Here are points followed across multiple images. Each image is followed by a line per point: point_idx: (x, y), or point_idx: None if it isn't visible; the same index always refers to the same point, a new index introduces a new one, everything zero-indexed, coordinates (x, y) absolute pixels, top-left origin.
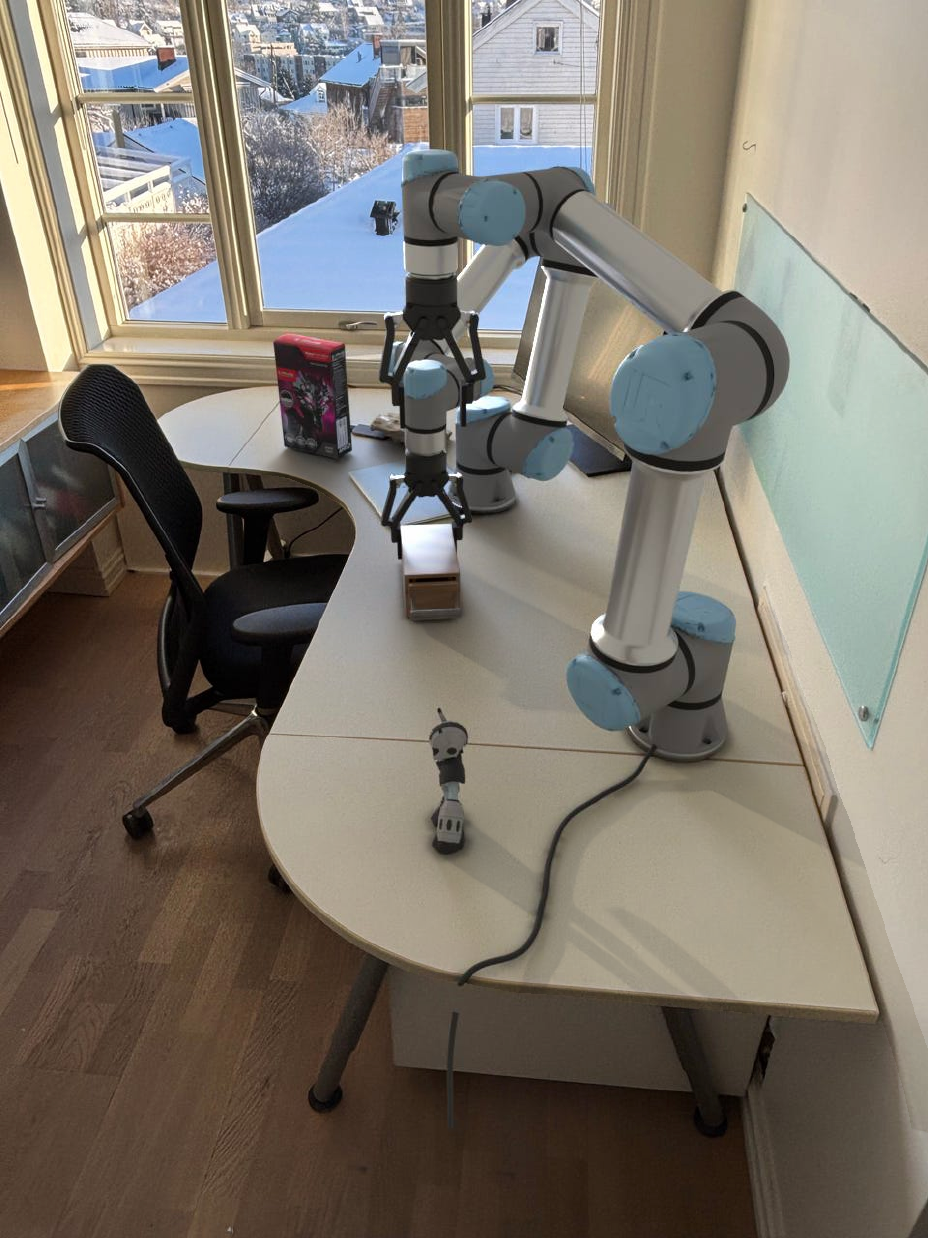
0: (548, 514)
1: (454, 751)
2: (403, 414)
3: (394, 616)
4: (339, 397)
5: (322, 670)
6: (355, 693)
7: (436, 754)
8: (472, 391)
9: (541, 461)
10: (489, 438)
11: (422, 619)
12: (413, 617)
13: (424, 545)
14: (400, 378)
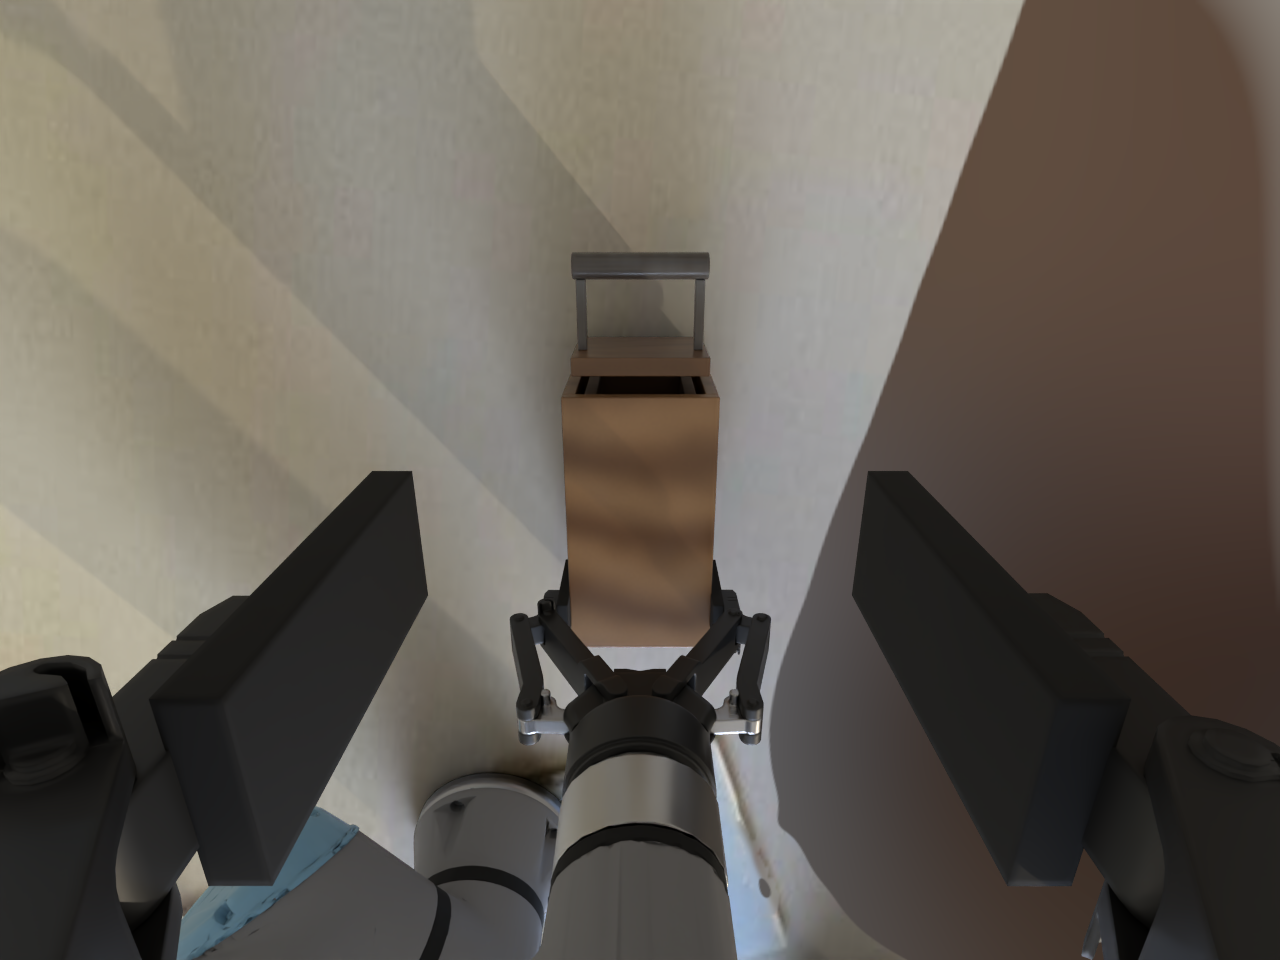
0: (343, 764)
1: None
2: (925, 522)
3: (734, 373)
4: None
5: (935, 146)
6: (864, 29)
7: None
8: (143, 678)
9: None
10: (433, 957)
11: (668, 337)
12: (702, 252)
13: (651, 546)
14: (1197, 813)
